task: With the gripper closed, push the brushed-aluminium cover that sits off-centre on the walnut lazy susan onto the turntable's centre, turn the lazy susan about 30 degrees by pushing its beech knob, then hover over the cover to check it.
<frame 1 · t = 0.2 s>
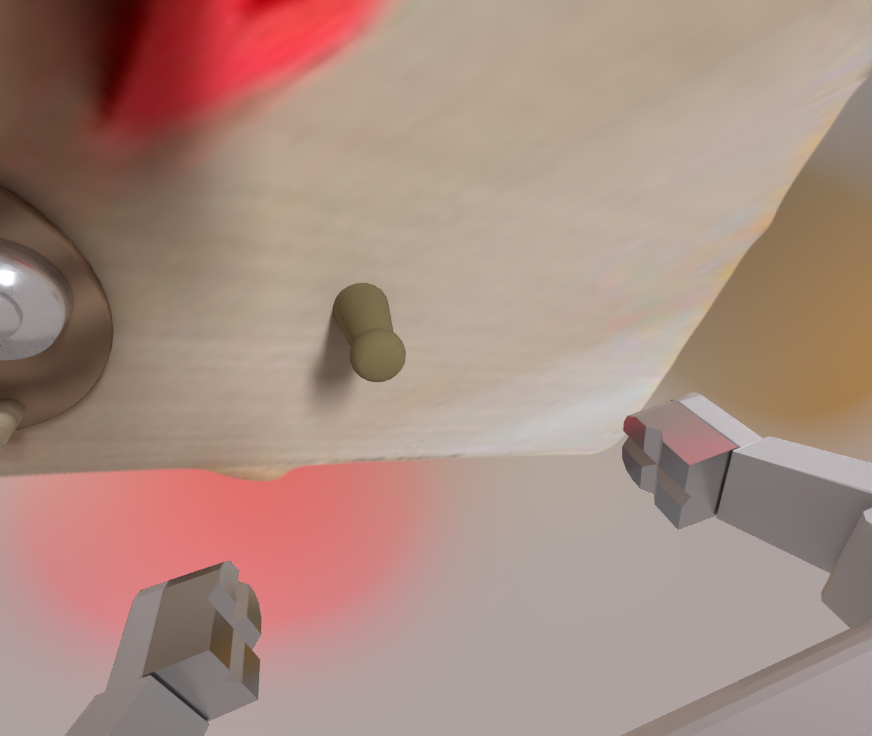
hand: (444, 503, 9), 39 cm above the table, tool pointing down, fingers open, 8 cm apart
olive pawn: (360, 307, 50), on the table
aluminium cover: (5, 290, 37), point 2 cm above the table, touching lazy susan
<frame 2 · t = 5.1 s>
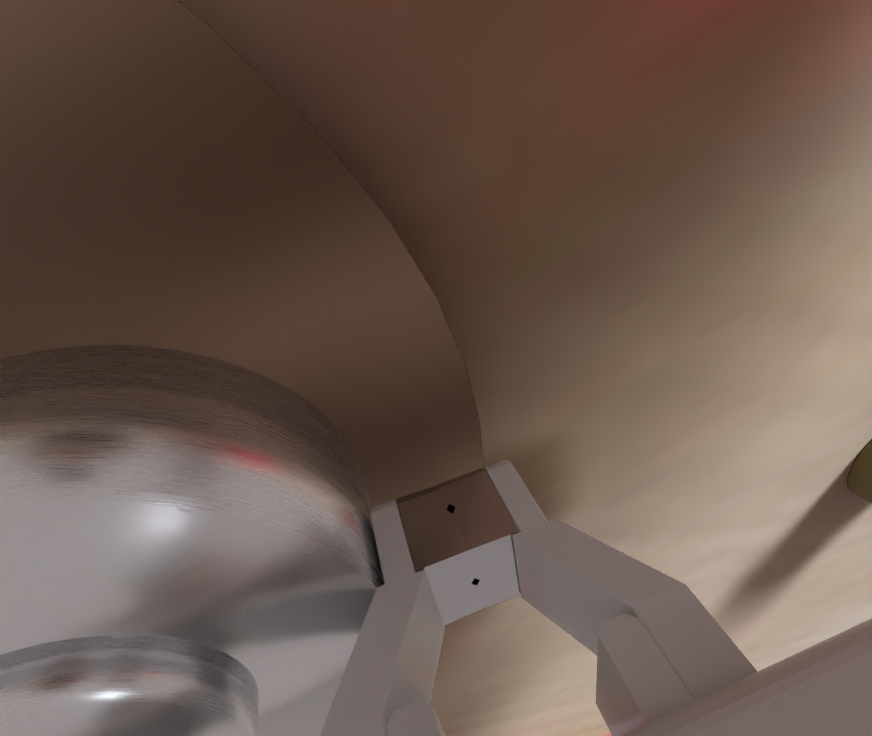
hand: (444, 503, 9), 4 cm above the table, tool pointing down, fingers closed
aluminium cover: (153, 536, 9), point 2 cm above the table, touching gripper
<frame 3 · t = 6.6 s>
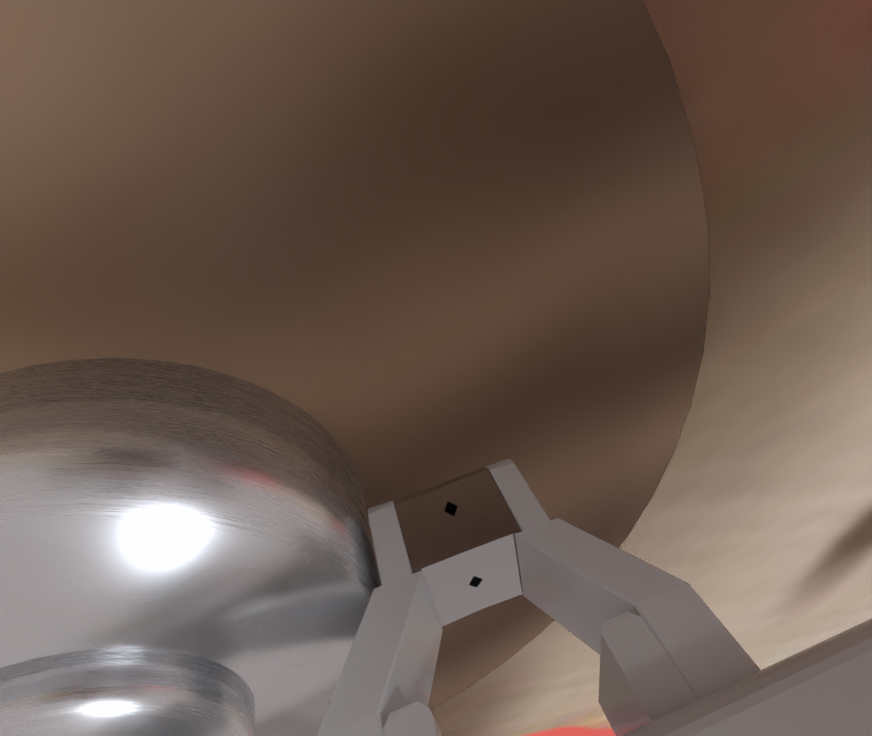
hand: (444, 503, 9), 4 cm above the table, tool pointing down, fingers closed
lazy susan: (159, 588, 9), point 3 cm above the table, hinge at -0.1°, touching aluminium cover
aluminium cover: (151, 545, 10), point 2 cm above the table, touching gripper, lazy susan
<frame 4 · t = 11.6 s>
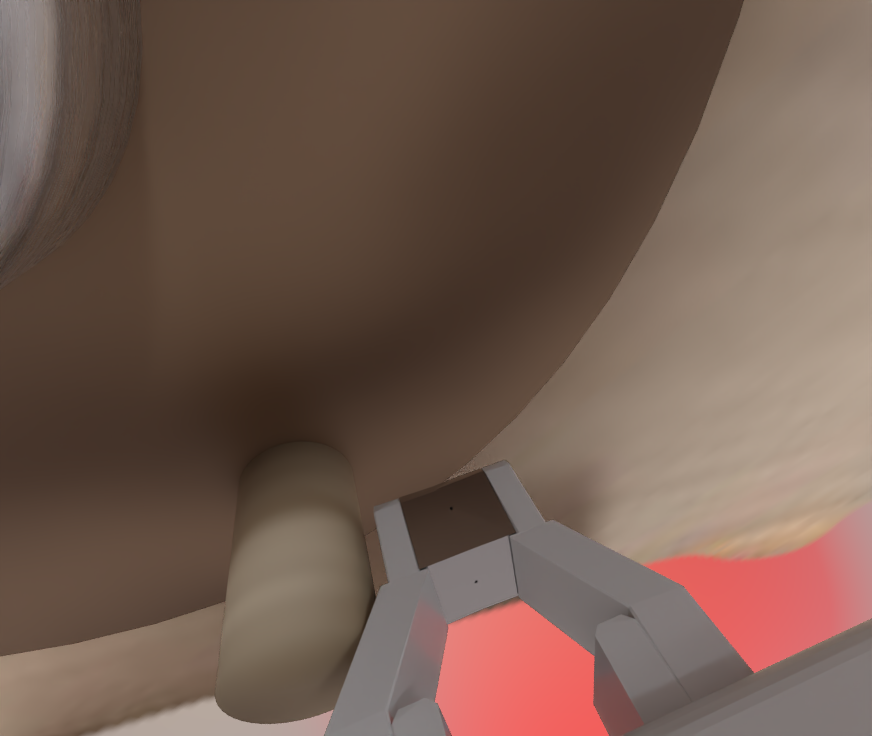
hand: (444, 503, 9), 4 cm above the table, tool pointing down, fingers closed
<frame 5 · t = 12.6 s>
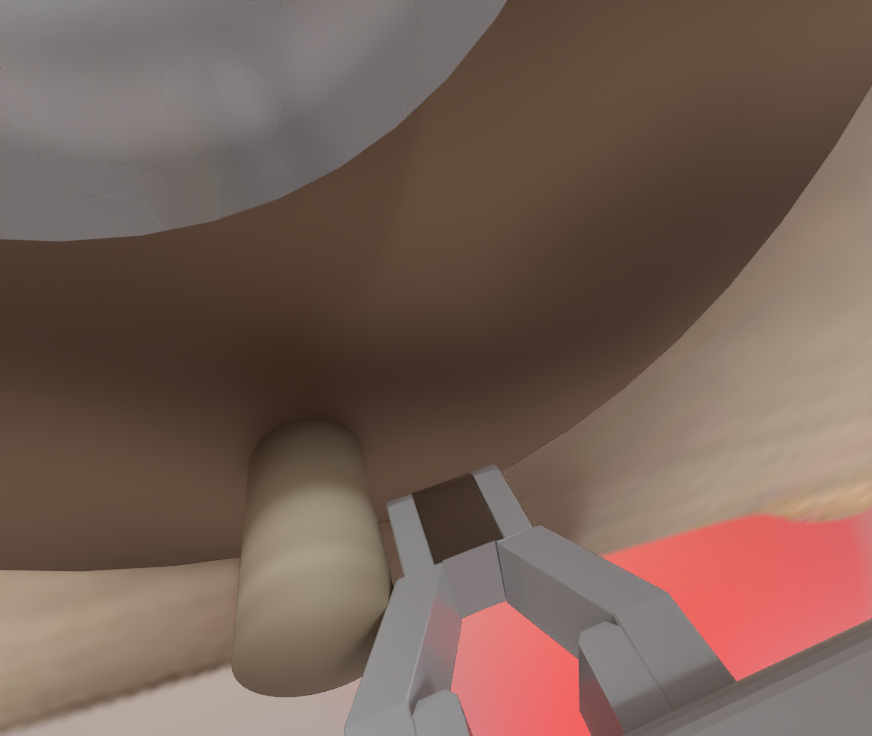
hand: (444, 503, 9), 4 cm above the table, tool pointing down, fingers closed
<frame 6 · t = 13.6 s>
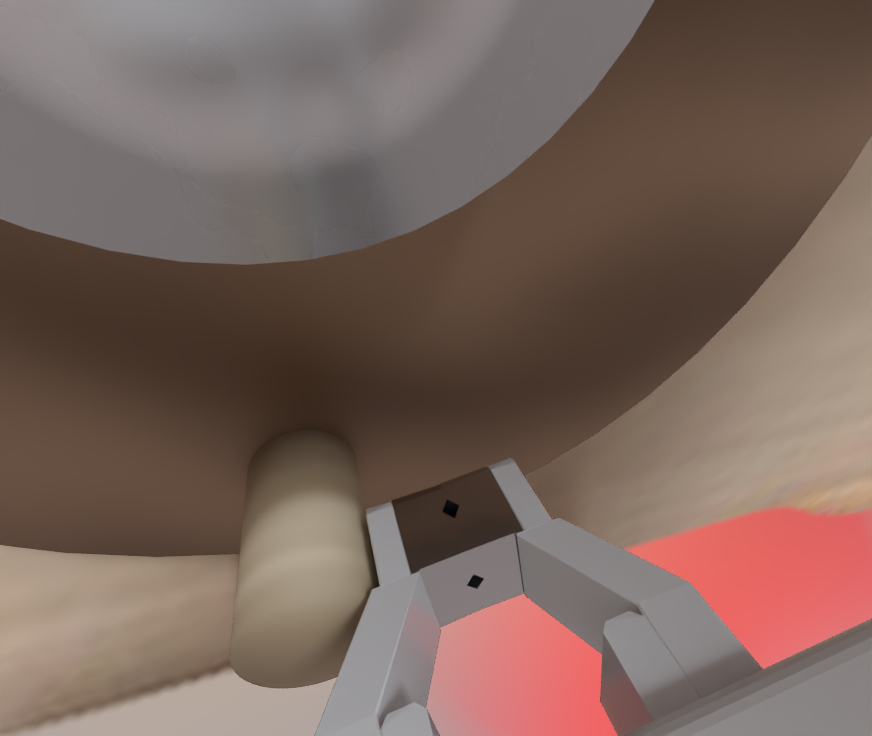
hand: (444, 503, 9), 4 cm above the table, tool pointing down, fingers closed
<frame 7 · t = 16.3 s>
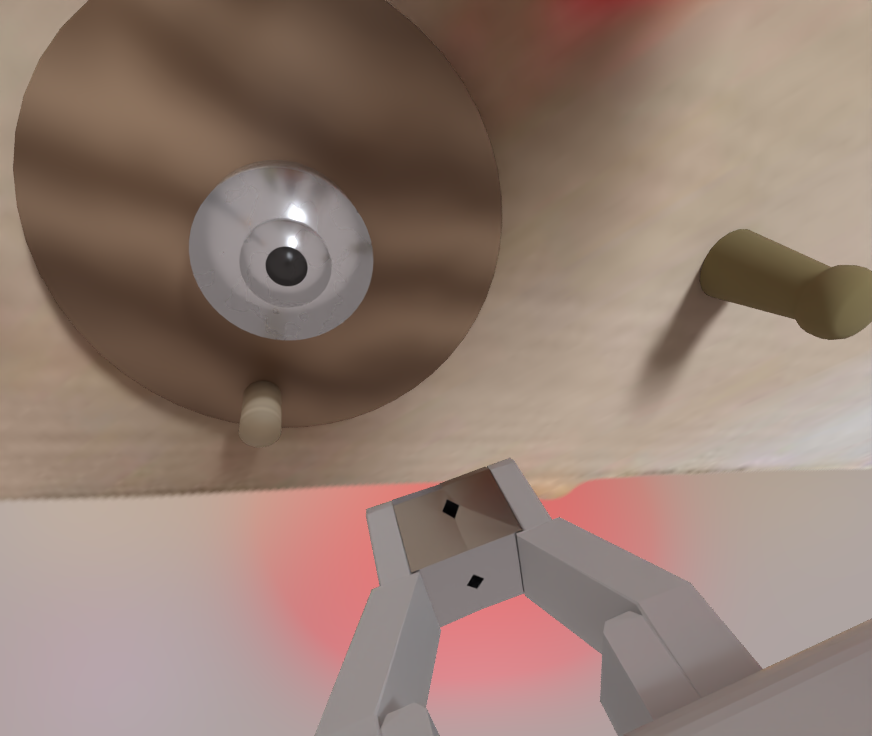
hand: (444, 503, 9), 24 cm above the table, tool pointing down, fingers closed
olive pawn: (728, 263, 39), on the table
lazy susan: (297, 252, 25), point 3 cm above the table, hinge at -32.3°, touching aluminium cover
aluminium cover: (286, 244, 26), point 2 cm above the table, touching lazy susan
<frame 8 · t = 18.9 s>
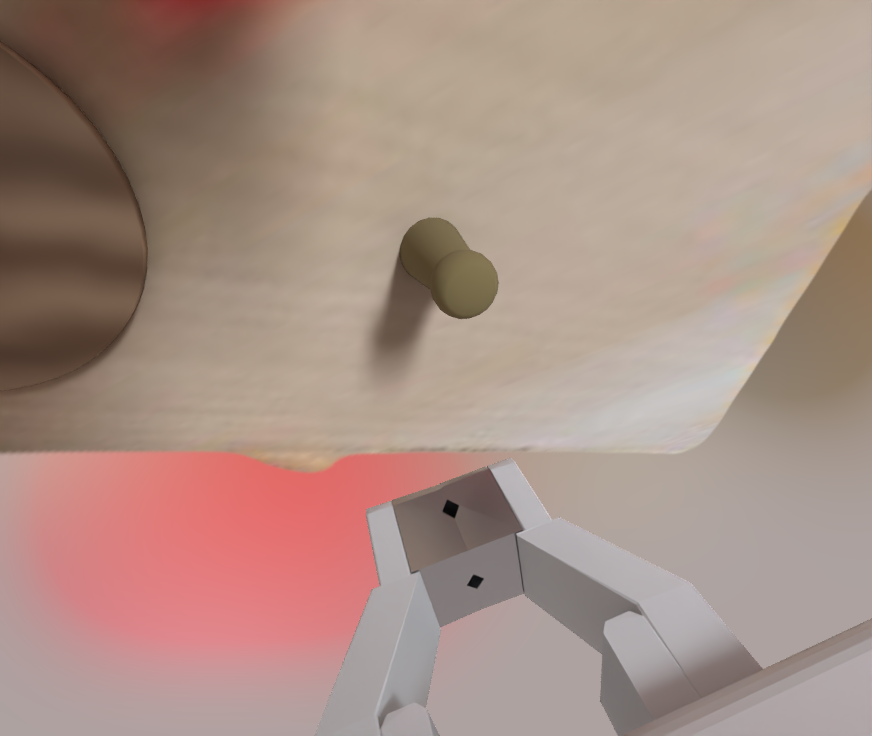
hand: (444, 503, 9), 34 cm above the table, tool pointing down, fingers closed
olive pawn: (431, 250, 42), on the table
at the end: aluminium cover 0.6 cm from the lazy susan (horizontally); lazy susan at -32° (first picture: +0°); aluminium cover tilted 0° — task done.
